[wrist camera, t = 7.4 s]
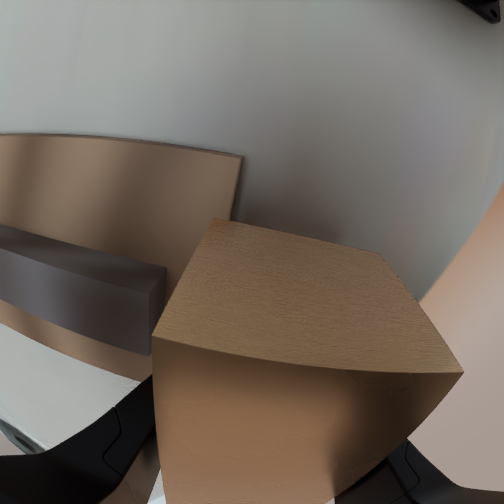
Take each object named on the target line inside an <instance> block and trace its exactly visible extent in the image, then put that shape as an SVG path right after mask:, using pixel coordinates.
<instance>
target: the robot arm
mask: <svg viewBox="0 0 504 504" xmlns="http://www.w3.org/2000/svg"><path fill="white" fill-rule="evenodd" d="M460 1H461V2H463V3H464V4H466V5H467V6H469V7H470V8H472V9H473V10H475V11H476V12H477V13H479V14H480V15H481V16H483V17H484V18H485V19H487V20H488V21H489V22H491V23H493V24H495V23H498V22H500V20H501V17H500V6H499V1H500V0H460ZM160 468H161V467H160V459H159V451H158V442H157V433H156V422H155V410H154V395H153V375H152V374H151V375H150V376H149V377H147V378H146V379H145V380H144V381H143V382H142V383H141V384H139V385H138V386H137V387H136V388H135V389H134V390H132V391H131V392H130V393H129V394H128V395H127V396H125V397H124V398H123V399H122V400H121V401H120V402H118V403H117V404H116V405H115V407H112V408H111V409H110V410H109V411H108V412H107V413H105V414H104V415H103V416H102V417H100V418H99V419H98V420H96V421H95V422H94V423H92V424H91V425H89V426H88V427H86V428H85V429H83V430H82V431H80V432H78V433H77V434H75V435H74V436H72V437H70V438H69V439H67V440H65V441H64V442H62V443H60V444H58V445H57V446H55V447H53V448H51V449H49V450H47V451H44V452H41V453H37V454H25V455H5V456H0V504H147V503H148V500H149V497H150V495H151V492H152V489H153V487H154V484H155V481H156V479H157V476H158V473H159V471H160ZM334 498H335V504H504V492H499V491H488V490H479V489H471V488H464V487H461V486H459V485H456V484H455V483H453V482H452V481H451V480H450V479H449V478H447V477H446V476H445V475H444V474H443V473H442V472H441V471H439V470H438V469H437V468H436V467H435V466H434V465H433V464H432V463H430V462H429V461H428V460H427V459H426V458H425V457H424V456H423V455H422V454H421V453H420V452H419V451H418V449H417V448H416V447H415V446H414V445H413V444H412V443H411V442H410V441H409V440H408V439H407V438H406V439H405V440H404V441H403V442H402V443H401V444H400V445H399V446H398V447H397V448H396V449H395V450H394V451H393V452H391V453H390V454H389V455H388V456H387V457H386V458H385V459H384V460H382V461H381V462H380V463H379V464H378V465H377V466H375V467H374V468H373V469H372V470H370V471H369V472H368V473H367V474H365V475H364V476H363V477H362V478H360V479H359V480H358V481H356V482H355V483H354V484H352V485H351V486H350V487H348V488H347V489H346V490H344V491H343V492H341V493H340V494H339V495H337V496H336V497H334Z"/></svg>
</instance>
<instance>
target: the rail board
mask: <svg viewBox="0 0 504 504" xmlns="http://www.w3.org/2000/svg"><path fill="white" fill-rule="evenodd" d="M242 158H243V156H239V155H234V154H229V153H223V152H218V151H212V150H207V149H201V148H194V147H188V146H181V145H174V144H167V143H160V142H152V141H143V140H135V139H125V138H114V137H102V136H88V135H69V134H0V322H1V323H3V324H4V325H6V326H8V327H10V328H12V329H13V330H15V331H17V332H19V333H21V334H23V335H25V336H27V337H29V338H31V339H33V340H35V341H37V342H39V343H41V344H43V345H45V346H47V347H50V348H52V349H54V350H56V351H59V352H61V353H63V354H65V355H68V356H70V357H73V358H75V359H77V360H80V361H82V362H85V363H87V364H90V365H93V366H95V367H98V368H101V369H103V370H106V371H109V372H112V373H115V374H118V375H121V376H124V377H127V378H130V379H133V380H136V381H140V382H143V381H144V380H145V379H146V378H147V377H149V376H150V375H151V374H152V333H153V331H154V329H155V327H156V325H157V323H158V321H159V319H160V317H161V315H162V313H163V311H164V309H165V307H166V305H167V303H168V301H169V299H170V298H171V296H172V294H173V292H174V290H175V288H176V286H177V284H178V282H179V280H180V278H181V276H182V274H183V273H184V271H185V269H186V267H187V265H188V263H189V261H190V259H191V258H192V256H193V254H194V252H195V250H196V248H197V247H198V245H199V243H200V241H201V239H202V237H203V236H204V234H205V232H206V230H207V228H208V227H209V225H210V223H211V221H212V219H213V218H219V219H224V220H229V221H230V218H231V213H232V207H233V202H234V197H235V192H236V187H237V182H238V178H239V173H240V168H241V163H242Z"/></svg>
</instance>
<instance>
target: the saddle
mask: <svg viewBox="0 0 504 504" xmlns="http://www.w3.org/2000/svg"><path fill="white" fill-rule="evenodd" d="M463 373H464V371H463V369H462V367H461V366H460V364H459V363H458V361H457V359H456V358H455V357H454V355H453V354H452V352H451V350H450V349H449V347H448V345H447V344H446V343H445V341H444V339H443V338H442V337H441V335H440V334H439V332H438V331H437V329H436V328H435V326H434V325H433V324H432V322H431V321H430V319H429V318H428V316H427V315H426V314H425V312H424V311H423V309H422V308H421V307H420V305H419V304H418V303H417V301H416V300H415V298H414V297H413V296H412V294H411V293H410V292H409V290H408V289H407V288H406V287H405V285H404V284H403V283H402V281H401V280H400V279H399V277H398V276H397V275H396V274H395V272H394V271H393V270H392V269H391V267H390V266H389V265H388V264H387V262H386V261H385V260H384V259H383V257H382V256H381V255H380V254H378V253H374V252H370V251H365V250H361V249H357V248H353V247H348V246H344V245H340V244H335V243H331V242H327V241H322V240H318V239H313V238H309V237H304V236H300V235H295V234H291V233H286V232H281V231H277V230H272V229H267V228H263V227H258V226H253V225H248V224H243V223H239V222H234V221H229V220H224V219H219V218H213V219H212V221H211V223H210V225H209V227H208V228H207V230H206V232H205V234H204V236H203V237H202V239H201V241H200V243H199V245H198V247H197V248H196V250H195V252H194V254H193V256H192V258H191V259H190V261H189V263H188V265H187V267H186V269H185V271H184V273H183V274H182V276H181V278H180V280H179V282H178V284H177V286H176V288H175V290H174V292H173V294H172V296H171V298H170V299H169V301H168V303H167V305H166V307H165V309H164V311H163V313H162V315H161V317H160V319H159V321H158V323H157V325H156V327H155V329H154V331H153V333H152V375H153V395H154V410H155V422H156V433H157V442H158V451H159V459H160V467H161V474H162V480H163V487H164V493H165V498H166V504H325V503H327V502H328V501H330V500H331V499H333V498H334V497H336V496H337V495H339V494H340V493H341V492H343V491H344V490H346V489H347V488H348V487H350V486H351V485H352V484H354V483H355V482H356V481H358V480H359V479H360V478H362V477H363V476H364V475H365V474H367V473H368V472H369V471H370V470H372V469H373V468H374V467H375V466H377V465H378V464H379V463H380V462H381V461H382V460H384V459H385V458H386V457H387V456H388V455H389V454H390V453H391V452H393V451H394V450H395V449H396V448H397V447H398V446H399V445H400V444H401V443H402V442H403V441H404V440H405V439H406V438H407V437H408V436H409V435H410V434H411V433H412V432H413V431H414V430H415V429H416V428H417V427H418V426H419V425H420V424H421V423H422V422H423V421H424V420H425V419H426V418H427V417H428V416H429V414H430V413H431V412H432V411H433V410H434V409H435V408H436V407H437V405H438V404H439V403H440V402H441V401H442V400H443V398H444V397H445V396H446V395H447V394H448V392H449V391H450V390H451V389H452V387H453V386H454V385H455V383H456V382H457V381H458V380H459V378H460V377H461V376H462V374H463Z"/></svg>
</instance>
